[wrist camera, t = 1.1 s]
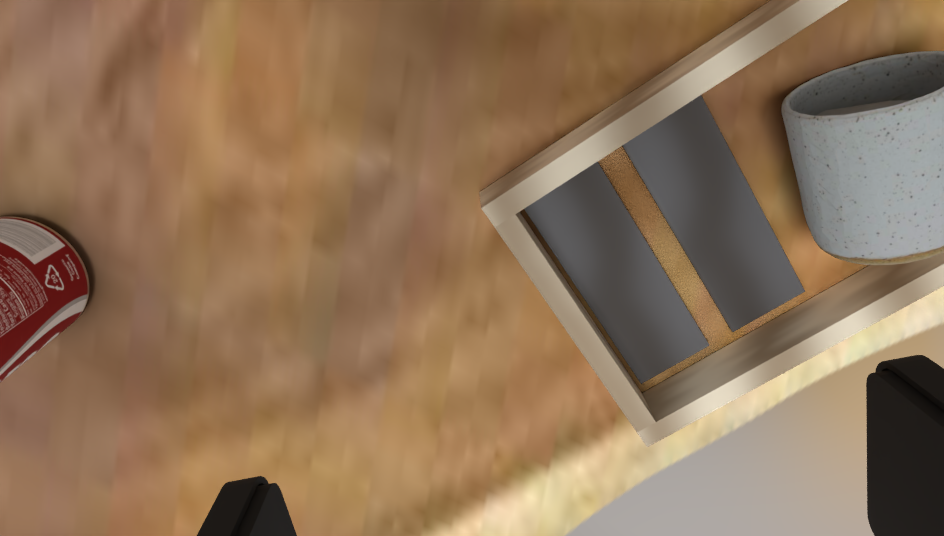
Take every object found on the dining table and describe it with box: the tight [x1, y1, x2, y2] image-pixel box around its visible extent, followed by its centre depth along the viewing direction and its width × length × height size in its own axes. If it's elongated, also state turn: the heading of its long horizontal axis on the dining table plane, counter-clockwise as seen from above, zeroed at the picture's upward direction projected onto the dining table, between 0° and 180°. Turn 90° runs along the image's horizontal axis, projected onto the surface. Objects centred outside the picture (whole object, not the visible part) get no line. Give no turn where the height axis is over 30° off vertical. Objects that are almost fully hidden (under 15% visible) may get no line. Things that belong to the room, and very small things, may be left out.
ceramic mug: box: [781, 51, 944, 265], centre depth 31 cm, size 11×8×8 cm
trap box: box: [479, 0, 944, 447], centre depth 34 cm, size 32×17×3 cm, turn 124°
